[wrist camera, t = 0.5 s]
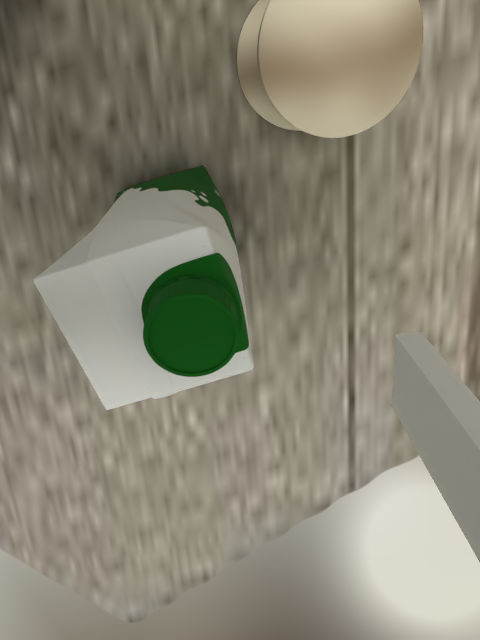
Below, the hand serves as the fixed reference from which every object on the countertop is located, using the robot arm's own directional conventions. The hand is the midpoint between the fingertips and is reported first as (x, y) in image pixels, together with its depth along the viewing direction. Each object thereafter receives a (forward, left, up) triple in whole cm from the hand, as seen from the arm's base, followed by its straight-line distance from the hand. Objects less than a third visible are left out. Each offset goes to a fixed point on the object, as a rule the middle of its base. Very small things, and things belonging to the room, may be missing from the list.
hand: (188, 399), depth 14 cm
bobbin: (-7, +11, -25) cm, 28 cm away
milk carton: (0, -2, -25) cm, 25 cm away
